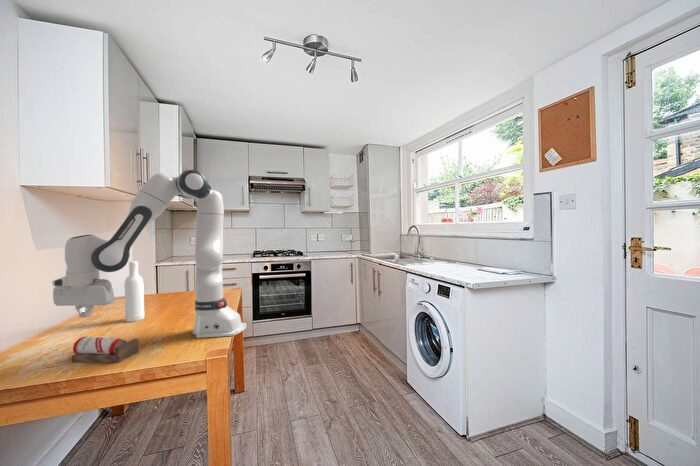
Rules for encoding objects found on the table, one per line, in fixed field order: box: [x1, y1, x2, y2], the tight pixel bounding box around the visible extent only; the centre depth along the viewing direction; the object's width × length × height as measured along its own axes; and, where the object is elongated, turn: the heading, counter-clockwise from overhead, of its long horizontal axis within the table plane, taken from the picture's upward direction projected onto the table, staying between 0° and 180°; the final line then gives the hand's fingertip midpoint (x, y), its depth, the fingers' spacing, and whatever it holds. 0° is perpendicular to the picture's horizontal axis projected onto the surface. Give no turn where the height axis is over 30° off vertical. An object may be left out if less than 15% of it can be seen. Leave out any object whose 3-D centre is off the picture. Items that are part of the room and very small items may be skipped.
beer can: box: [72, 335, 127, 355], centre depth 102 cm, size 6×6×16 cm
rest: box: [70, 338, 140, 363], centre depth 102 cm, size 18×8×5 cm, turn 87°
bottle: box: [123, 260, 146, 323], centre depth 144 cm, size 8×8×30 cm
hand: (85, 317), depth 103 cm, fingers closed
